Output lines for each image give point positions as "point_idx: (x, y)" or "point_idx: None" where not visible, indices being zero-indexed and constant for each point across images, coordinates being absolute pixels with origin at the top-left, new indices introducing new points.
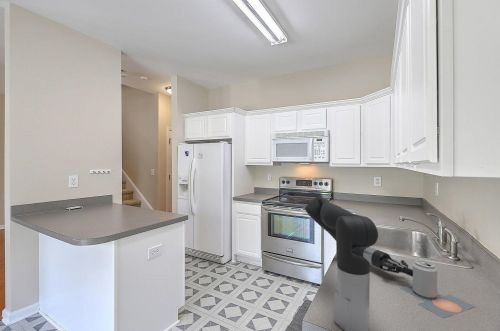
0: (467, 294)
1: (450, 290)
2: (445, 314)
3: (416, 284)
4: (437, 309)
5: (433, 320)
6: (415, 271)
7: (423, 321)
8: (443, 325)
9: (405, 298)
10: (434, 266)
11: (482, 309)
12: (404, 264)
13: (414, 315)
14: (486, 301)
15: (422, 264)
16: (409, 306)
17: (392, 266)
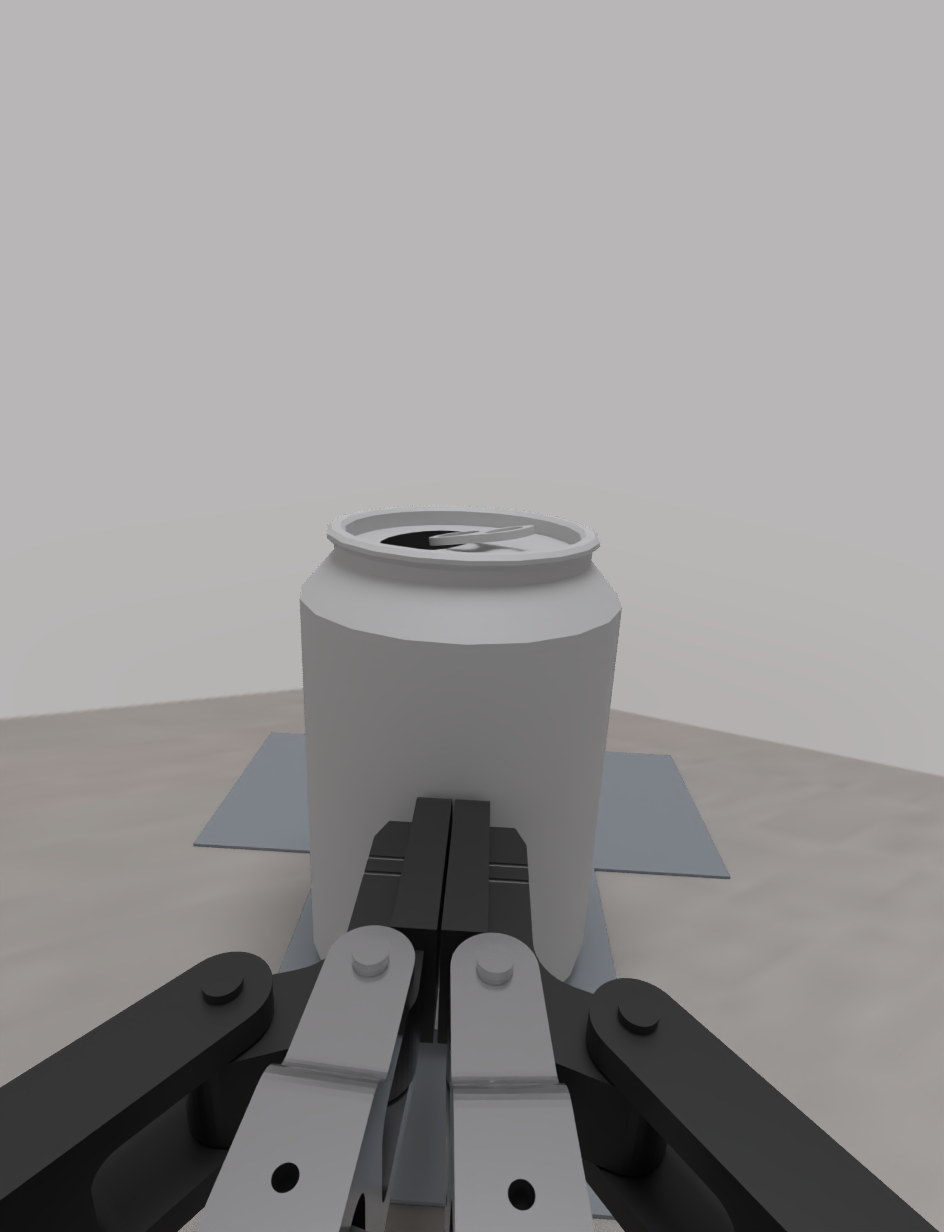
0: (38, 795)
1: (42, 873)
2: (614, 761)
3: (594, 837)
4: (611, 795)
5: (769, 767)
6: (613, 674)
7: (860, 782)
8: (740, 739)
9: (797, 981)
10: (447, 508)
11: (280, 717)
12: (216, 1043)
13: (892, 824)
14: (96, 729)
15: (497, 550)
16: (855, 890)
17: (803, 1122)
